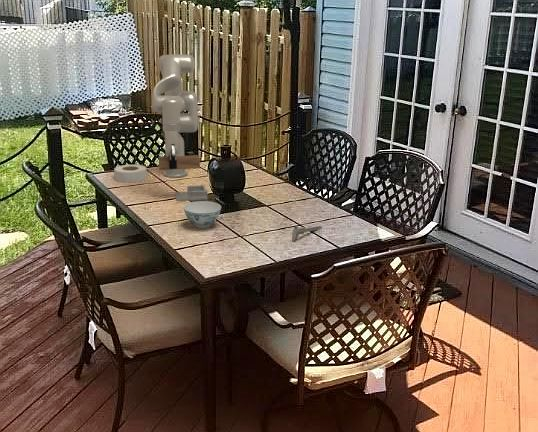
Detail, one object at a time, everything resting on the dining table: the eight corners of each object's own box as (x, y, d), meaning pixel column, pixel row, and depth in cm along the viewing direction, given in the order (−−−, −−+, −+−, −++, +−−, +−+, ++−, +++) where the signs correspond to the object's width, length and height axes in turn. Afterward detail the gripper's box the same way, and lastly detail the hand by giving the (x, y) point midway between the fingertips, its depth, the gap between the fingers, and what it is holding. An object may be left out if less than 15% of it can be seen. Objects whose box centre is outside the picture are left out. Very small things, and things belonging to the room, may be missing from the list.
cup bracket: (174, 194, 296) (174, 186, 294) (204, 192, 299) (204, 184, 298) (176, 201, 286) (176, 193, 284) (207, 199, 289) (207, 191, 288)
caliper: (294, 242, 242) (294, 227, 240) (291, 242, 243) (292, 226, 241) (322, 228, 258) (323, 213, 256) (320, 227, 258) (321, 213, 256)
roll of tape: (115, 175, 324) (114, 164, 322) (146, 174, 327) (145, 163, 326) (114, 183, 310) (113, 172, 308) (147, 182, 313) (146, 171, 311)
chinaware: (187, 232, 249) (186, 214, 246) (181, 220, 262) (181, 202, 260) (224, 229, 253) (224, 211, 250) (217, 217, 266) (217, 200, 264)
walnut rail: (158, 167, 286) (158, 156, 284) (198, 165, 290) (198, 155, 289) (159, 170, 282) (159, 159, 280) (199, 168, 286) (199, 157, 285)
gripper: (161, 123, 286) (162, 162, 292) (164, 130, 271) (165, 172, 277) (177, 123, 288) (178, 162, 294) (182, 130, 273) (183, 171, 278)
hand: (172, 166), depth 285 cm, fingers closed on walnut rail, 4 cm apart
